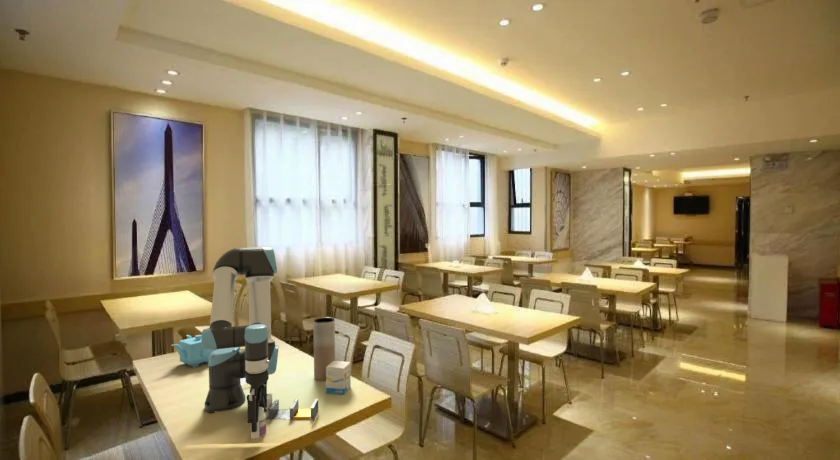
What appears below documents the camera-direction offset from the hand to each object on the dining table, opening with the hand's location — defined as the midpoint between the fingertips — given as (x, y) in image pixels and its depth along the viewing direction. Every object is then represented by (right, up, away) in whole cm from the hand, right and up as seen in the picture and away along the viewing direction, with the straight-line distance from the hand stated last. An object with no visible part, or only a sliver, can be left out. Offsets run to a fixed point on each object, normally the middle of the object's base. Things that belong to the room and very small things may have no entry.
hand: (258, 435), depth 148 cm
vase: (+11, +1, +53) cm, 55 cm away
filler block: (-3, +1, +14) cm, 14 cm away
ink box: (+21, +1, +39) cm, 44 cm away
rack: (+5, 0, +14) cm, 15 cm away
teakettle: (-60, +2, +73) cm, 95 cm away
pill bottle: (0, -1, 0) cm, 1 cm away
